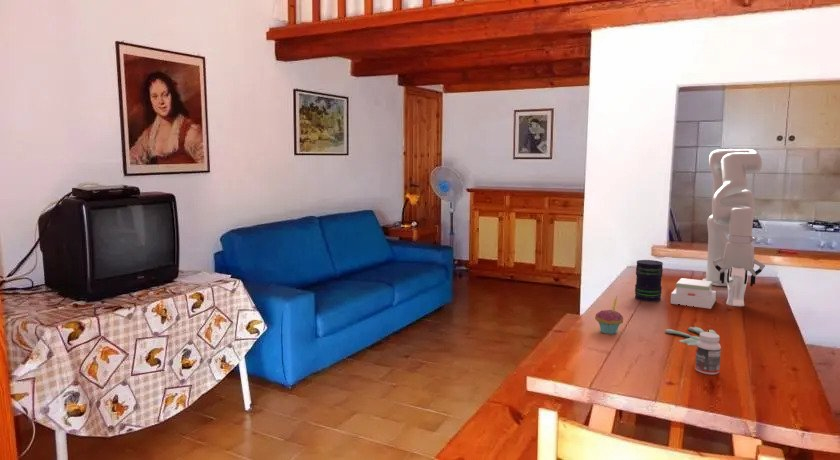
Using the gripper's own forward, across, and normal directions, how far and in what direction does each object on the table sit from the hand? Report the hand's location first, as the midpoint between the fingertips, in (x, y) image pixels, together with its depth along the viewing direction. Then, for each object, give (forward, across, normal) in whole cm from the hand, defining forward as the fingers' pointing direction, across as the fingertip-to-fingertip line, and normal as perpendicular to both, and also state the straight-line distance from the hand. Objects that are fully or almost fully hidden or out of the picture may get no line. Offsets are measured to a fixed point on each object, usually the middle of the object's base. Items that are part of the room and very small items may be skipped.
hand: (736, 284), depth 214 cm
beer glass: (+8, 0, -1) cm, 8 cm away
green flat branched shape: (+10, +8, +49) cm, 51 cm away
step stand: (+8, +14, +4) cm, 17 cm away
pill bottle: (+10, 0, +81) cm, 82 cm away
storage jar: (+8, +30, +8) cm, 32 cm away
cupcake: (+9, +31, +61) cm, 69 cm away
